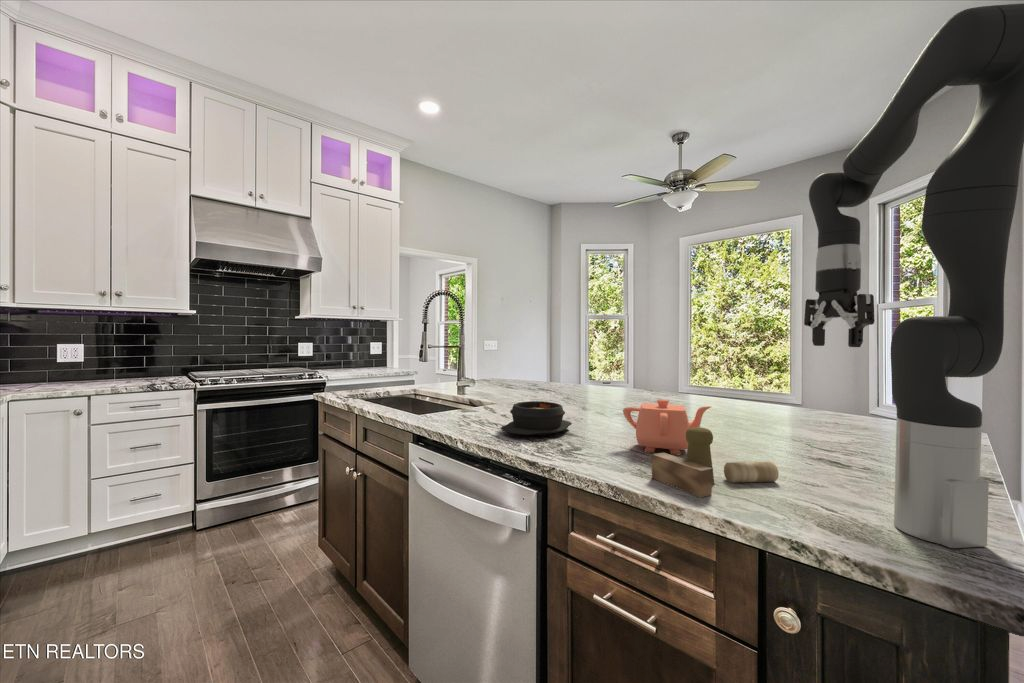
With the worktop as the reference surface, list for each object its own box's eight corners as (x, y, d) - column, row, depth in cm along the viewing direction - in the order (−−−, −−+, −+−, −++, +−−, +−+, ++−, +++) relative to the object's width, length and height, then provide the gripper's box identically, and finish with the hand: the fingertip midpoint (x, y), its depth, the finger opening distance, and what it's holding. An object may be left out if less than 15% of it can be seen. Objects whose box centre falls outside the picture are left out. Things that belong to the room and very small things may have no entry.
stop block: (712, 494, 81) (713, 468, 81) (700, 497, 79) (701, 470, 79) (663, 475, 91) (663, 452, 91) (651, 478, 90) (652, 454, 90)
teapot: (619, 446, 116) (620, 397, 116) (659, 439, 124) (660, 394, 124) (670, 462, 102) (671, 407, 101) (711, 453, 110) (712, 402, 109)
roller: (764, 459, 92) (778, 463, 88) (764, 478, 91) (778, 483, 87) (723, 460, 90) (735, 464, 86) (724, 480, 90) (736, 485, 86)
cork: (718, 487, 85) (719, 432, 85) (685, 485, 86) (686, 430, 86) (710, 477, 91) (711, 425, 90) (680, 475, 92) (681, 424, 92)
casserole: (540, 421, 147) (541, 397, 147) (585, 430, 134) (586, 404, 134) (486, 433, 129) (487, 405, 129) (532, 444, 116) (533, 413, 116)
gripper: (794, 273, 96) (793, 345, 96) (853, 262, 82) (851, 347, 82) (824, 274, 97) (823, 345, 97) (887, 264, 83) (885, 347, 83)
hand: (836, 346), depth 90 cm, fingers open, 8 cm apart
